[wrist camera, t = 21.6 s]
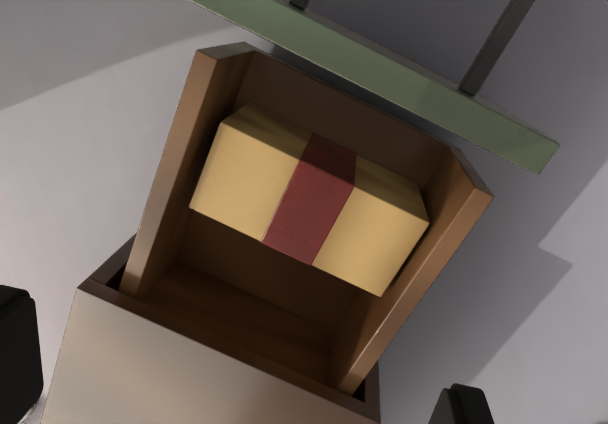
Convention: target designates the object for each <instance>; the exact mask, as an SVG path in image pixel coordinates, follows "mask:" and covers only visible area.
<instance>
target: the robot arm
mask: <svg viewBox="0 0 608 424" xmlns="http://www.w3.org/2000/svg"><path fill="white" fill-rule="evenodd" d="M42 390H43V374H42V364H41V354H40V345H39V335H38V326H37V316H36V306H35V301H34V300H33V299H32V298H30V295H29V293H28V291H26V290H23V289H19V288H14V287H9V286H5V285H0V424H18V423H19V422H20V421H21V419H22V418H23V417H24V416H25V415H26V414H27V412H28V411H29V410H30V409H31V408H32V406H33V405H34V404H35V403H36V402H37V400H38V399H39V397H40V395H41V393H42ZM428 424H494V421H493V418H492V415H491V412H490V409H489V406H488V403H487V400H486V397H485V394H484V392H483V391H482V390H481V389H479V388H474V387H470V386H465V385H461V384H455V383H454V384H453V385H452V386H451V388H450V389H447V388H444V389H443V390H442V392H441V394H440V397H439V399H438V402H437V404H436V406H435V409H434V411H433V414H432V416H431V419H430V421H429V423H428Z"/></svg>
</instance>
